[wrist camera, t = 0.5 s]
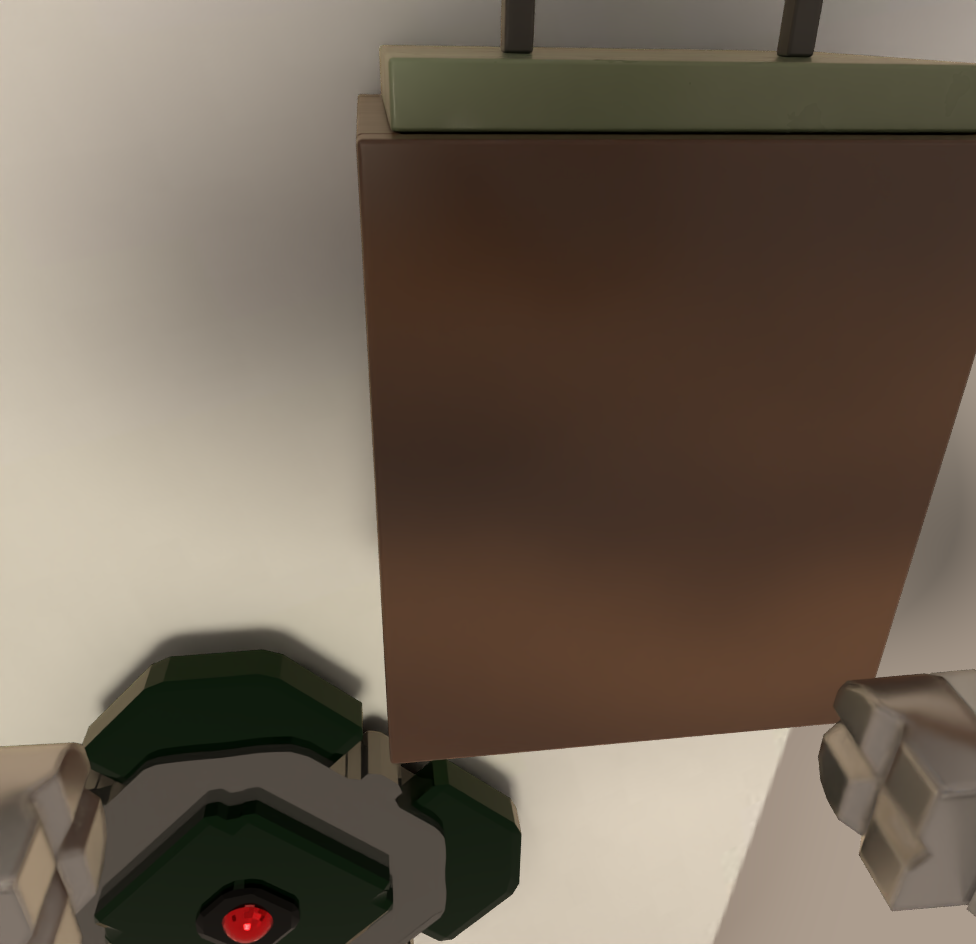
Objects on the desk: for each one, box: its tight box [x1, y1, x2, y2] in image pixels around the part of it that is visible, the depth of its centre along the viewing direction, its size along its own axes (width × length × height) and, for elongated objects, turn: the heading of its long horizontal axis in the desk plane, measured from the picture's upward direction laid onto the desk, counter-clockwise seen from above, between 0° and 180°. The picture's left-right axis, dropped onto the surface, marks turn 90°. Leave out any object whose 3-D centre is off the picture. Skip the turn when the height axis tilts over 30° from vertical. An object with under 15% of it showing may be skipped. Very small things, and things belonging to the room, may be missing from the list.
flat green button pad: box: [76, 650, 521, 944], centre depth 33 cm, size 18×18×5 cm
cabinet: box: [356, 94, 976, 764], centre depth 22 cm, size 15×13×10 cm
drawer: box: [379, 0, 976, 133], centre depth 20 cm, size 18×11×8 cm, turn 179°
